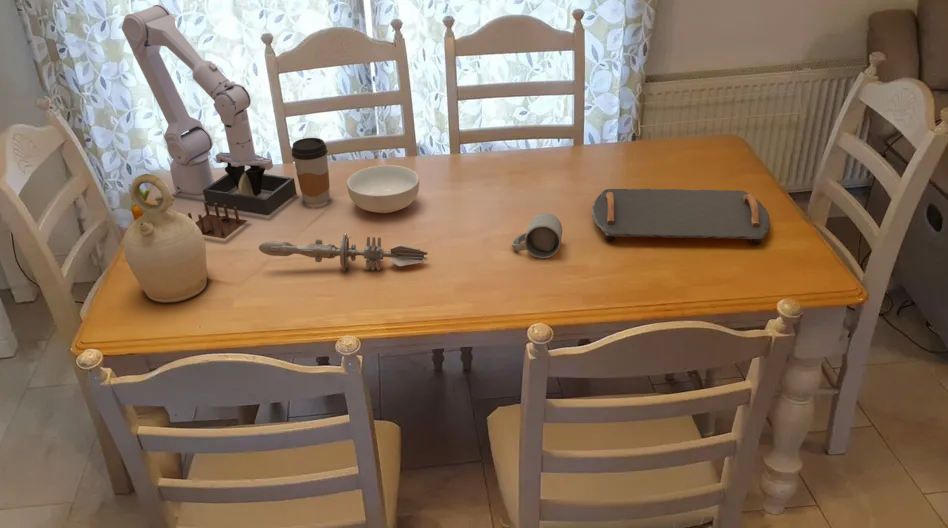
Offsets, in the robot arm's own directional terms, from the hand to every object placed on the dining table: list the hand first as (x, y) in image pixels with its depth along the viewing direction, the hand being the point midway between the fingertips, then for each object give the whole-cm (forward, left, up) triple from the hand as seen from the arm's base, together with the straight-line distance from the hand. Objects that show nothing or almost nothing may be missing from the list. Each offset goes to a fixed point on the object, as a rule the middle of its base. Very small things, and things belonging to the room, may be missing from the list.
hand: (250, 193), depth 205 cm
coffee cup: (+15, +5, -3) cm, 16 cm away
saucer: (0, 0, -2) cm, 2 cm away
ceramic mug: (+73, -1, -3) cm, 73 cm away
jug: (+7, -39, -3) cm, 39 cm away
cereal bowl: (+32, +8, -3) cm, 33 cm away
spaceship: (+37, -21, -3) cm, 42 cm away
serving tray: (+99, +21, -3) cm, 101 cm away
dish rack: (0, -15, -3) cm, 15 cm away
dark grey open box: (0, 0, -3) cm, 3 cm away
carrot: (-8, -27, -3) cm, 28 cm away
